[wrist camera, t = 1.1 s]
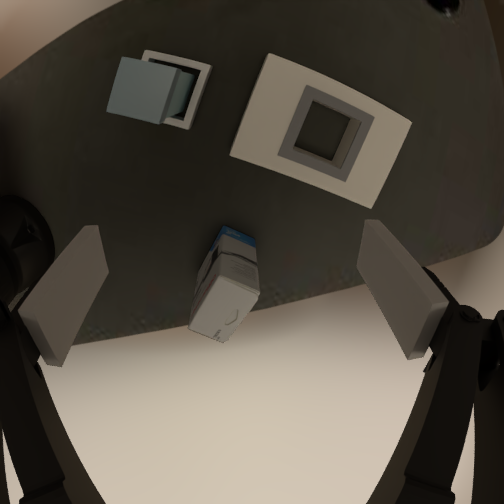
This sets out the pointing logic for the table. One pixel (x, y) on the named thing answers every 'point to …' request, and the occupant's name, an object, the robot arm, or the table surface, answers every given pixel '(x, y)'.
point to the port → (291, 120)
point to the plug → (149, 90)
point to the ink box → (225, 286)
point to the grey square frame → (198, 89)
